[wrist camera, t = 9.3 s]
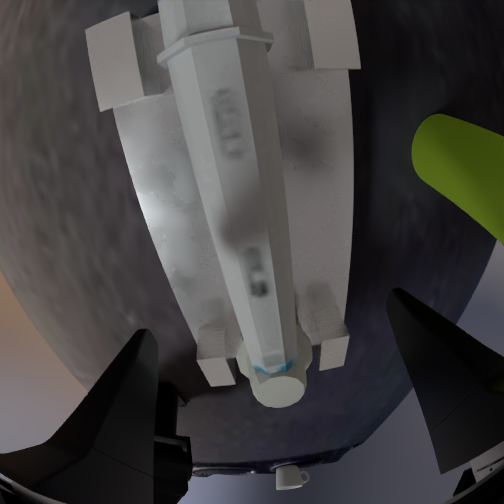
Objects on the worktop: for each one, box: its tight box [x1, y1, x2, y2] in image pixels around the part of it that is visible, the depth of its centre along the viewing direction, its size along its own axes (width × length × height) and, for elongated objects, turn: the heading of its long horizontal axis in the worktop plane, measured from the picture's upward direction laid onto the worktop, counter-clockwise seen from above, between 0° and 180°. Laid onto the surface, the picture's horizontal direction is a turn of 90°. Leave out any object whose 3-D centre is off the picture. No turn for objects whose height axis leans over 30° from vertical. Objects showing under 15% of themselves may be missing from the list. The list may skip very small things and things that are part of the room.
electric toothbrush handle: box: [157, 0, 312, 408], centre depth 14 cm, size 5×7×25 cm
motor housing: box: [85, 0, 361, 387], centre depth 13 cm, size 31×12×8 cm, turn 8°
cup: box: [276, 465, 309, 490], centre depth 63 cm, size 11×8×8 cm
